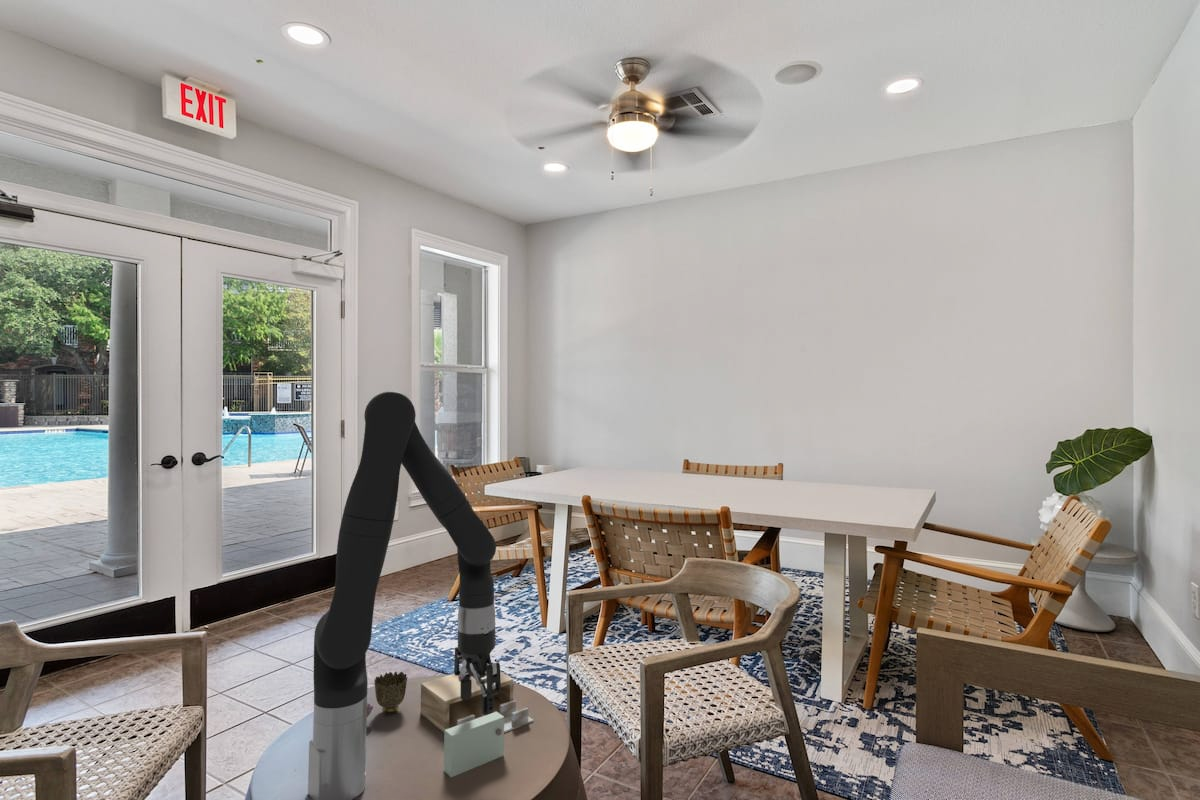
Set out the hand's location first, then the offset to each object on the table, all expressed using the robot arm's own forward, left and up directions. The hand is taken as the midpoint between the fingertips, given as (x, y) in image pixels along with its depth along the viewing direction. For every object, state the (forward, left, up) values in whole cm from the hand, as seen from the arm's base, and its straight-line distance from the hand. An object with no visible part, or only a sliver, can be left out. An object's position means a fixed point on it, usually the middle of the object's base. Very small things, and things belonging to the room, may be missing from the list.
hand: (476, 706), depth 125 cm
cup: (-4, +32, -11) cm, 34 cm away
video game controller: (-15, +28, -12) cm, 34 cm away
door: (0, 0, -11) cm, 11 cm away
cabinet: (+10, +16, -11) cm, 22 cm away
